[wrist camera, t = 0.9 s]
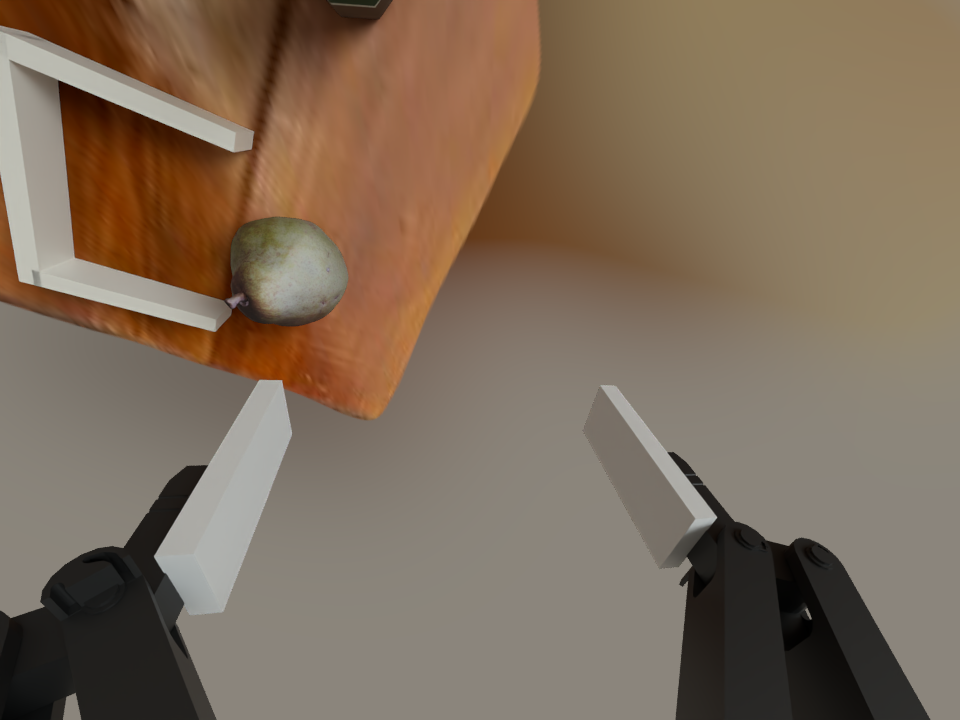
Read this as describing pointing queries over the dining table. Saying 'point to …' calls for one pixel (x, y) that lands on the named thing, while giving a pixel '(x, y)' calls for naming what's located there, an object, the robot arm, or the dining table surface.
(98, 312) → the dining table surface
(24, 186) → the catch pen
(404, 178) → the dining table surface
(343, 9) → the beer bottle
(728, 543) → the robot arm
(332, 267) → the fruit
